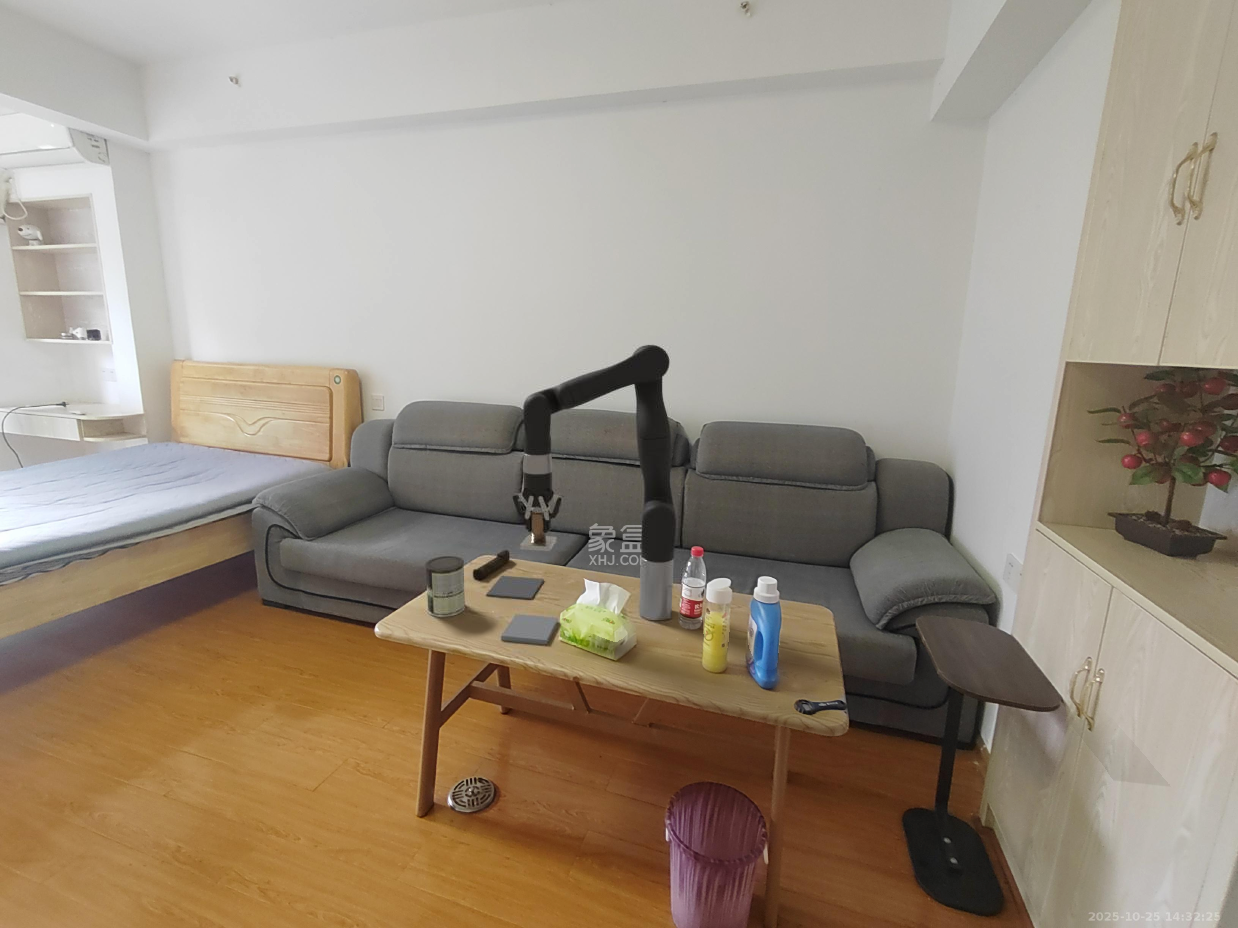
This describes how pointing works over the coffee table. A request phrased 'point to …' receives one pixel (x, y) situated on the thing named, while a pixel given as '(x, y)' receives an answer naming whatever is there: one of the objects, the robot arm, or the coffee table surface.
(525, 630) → the tile
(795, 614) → the coffee table surface
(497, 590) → the rest mat
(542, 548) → the brown post on base
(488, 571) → the dark brown bar
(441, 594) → the coffee can
